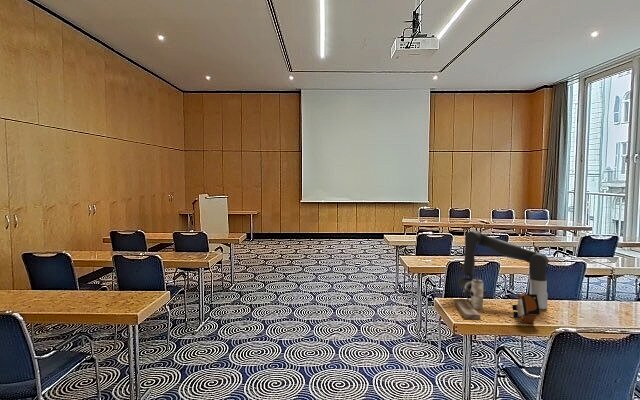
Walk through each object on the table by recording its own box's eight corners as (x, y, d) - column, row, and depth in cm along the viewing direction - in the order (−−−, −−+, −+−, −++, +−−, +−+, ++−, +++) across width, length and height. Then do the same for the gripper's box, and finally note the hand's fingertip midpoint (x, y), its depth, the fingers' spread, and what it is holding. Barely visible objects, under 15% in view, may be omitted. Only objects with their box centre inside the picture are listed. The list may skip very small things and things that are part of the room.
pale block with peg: (480, 306, 264) (481, 276, 263) (482, 309, 258) (483, 278, 257) (471, 306, 264) (471, 276, 264) (473, 308, 258) (474, 278, 258)
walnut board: (468, 305, 266) (468, 301, 266) (480, 319, 237) (480, 314, 237) (454, 304, 267) (455, 300, 267) (465, 318, 238) (465, 314, 238)
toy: (510, 297, 247) (525, 289, 229) (520, 297, 247) (535, 289, 229) (515, 325, 241) (530, 320, 223) (525, 326, 240) (541, 320, 222)
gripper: (460, 282, 276) (466, 288, 259) (483, 283, 274) (490, 289, 257) (460, 293, 276) (465, 300, 259) (483, 294, 274) (490, 301, 257)
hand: (478, 294), depth 258 cm, fingers closed on pale block with peg, 5 cm apart
